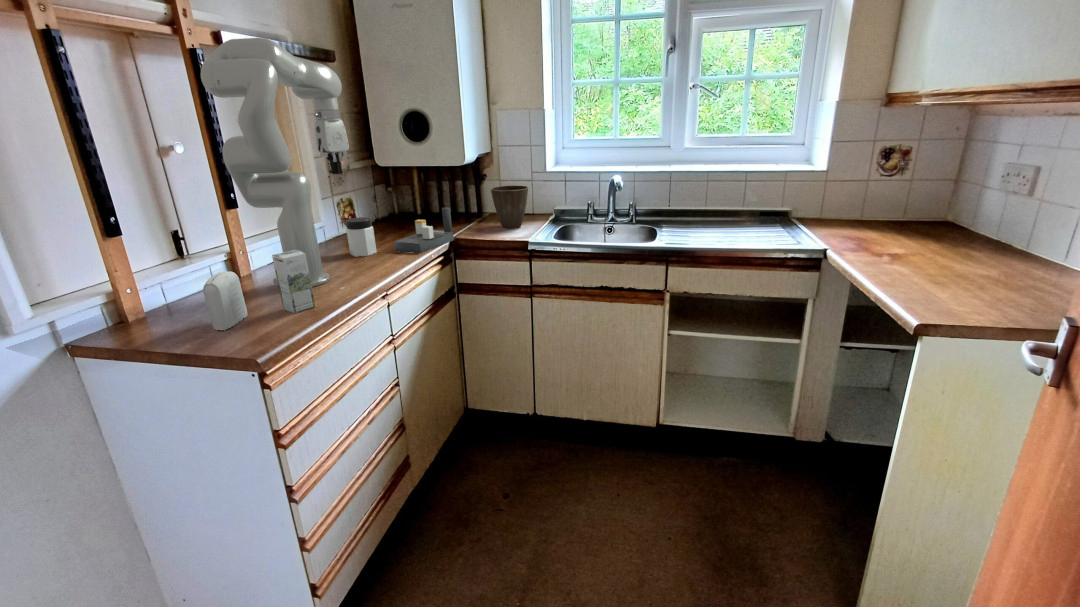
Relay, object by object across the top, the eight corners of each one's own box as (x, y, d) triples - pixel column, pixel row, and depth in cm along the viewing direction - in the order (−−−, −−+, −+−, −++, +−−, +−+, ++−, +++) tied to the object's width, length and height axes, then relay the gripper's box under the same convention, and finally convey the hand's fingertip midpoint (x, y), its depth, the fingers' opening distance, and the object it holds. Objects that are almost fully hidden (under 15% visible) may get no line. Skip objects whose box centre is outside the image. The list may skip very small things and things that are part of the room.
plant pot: (490, 225, 218) (487, 186, 213) (525, 222, 222) (523, 184, 216) (497, 232, 205) (494, 191, 199) (533, 229, 208) (532, 188, 203)
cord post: (450, 241, 194) (447, 209, 190) (441, 240, 196) (438, 208, 192) (456, 239, 198) (453, 207, 193) (447, 238, 199) (444, 206, 195)
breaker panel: (421, 253, 179) (420, 243, 178) (395, 251, 183) (394, 241, 182) (454, 240, 196) (453, 231, 194) (429, 238, 200) (428, 229, 199)
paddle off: (429, 239, 183) (428, 227, 181) (422, 238, 184) (421, 227, 182) (433, 237, 185) (432, 226, 183) (426, 236, 186) (425, 225, 184)
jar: (348, 257, 178) (342, 222, 174) (352, 251, 185) (347, 218, 181) (375, 255, 179) (369, 221, 175) (378, 249, 186) (373, 216, 182)
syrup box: (304, 303, 136) (293, 248, 131) (316, 307, 132) (305, 252, 127) (283, 309, 132) (270, 254, 127) (294, 314, 128) (282, 257, 123)
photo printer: (233, 315, 129) (220, 267, 125) (250, 314, 129) (238, 266, 125) (210, 332, 120) (196, 281, 115) (230, 331, 120) (216, 280, 115)
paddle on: (423, 234, 190) (421, 221, 188) (416, 233, 191) (414, 220, 190) (427, 232, 192) (425, 219, 190) (420, 232, 193) (418, 219, 192)
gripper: (318, 116, 162) (328, 176, 168) (352, 115, 175) (361, 171, 181) (300, 117, 165) (311, 176, 171) (336, 115, 178) (345, 171, 184)
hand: (337, 173), depth 176 cm, fingers closed
